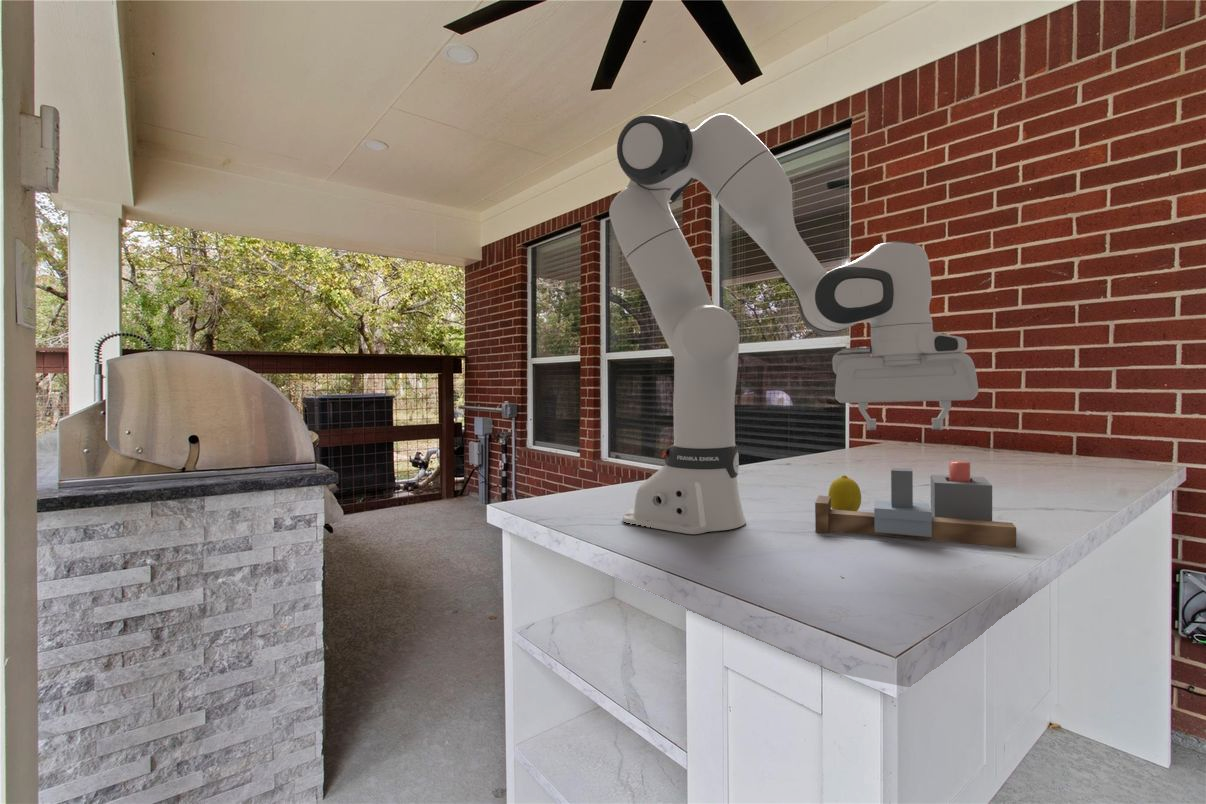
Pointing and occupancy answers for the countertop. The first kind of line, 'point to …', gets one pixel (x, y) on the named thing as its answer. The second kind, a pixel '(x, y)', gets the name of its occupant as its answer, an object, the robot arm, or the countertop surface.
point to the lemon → (845, 494)
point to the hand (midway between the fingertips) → (903, 429)
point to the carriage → (902, 508)
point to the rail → (941, 531)
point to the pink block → (959, 471)
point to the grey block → (961, 498)
